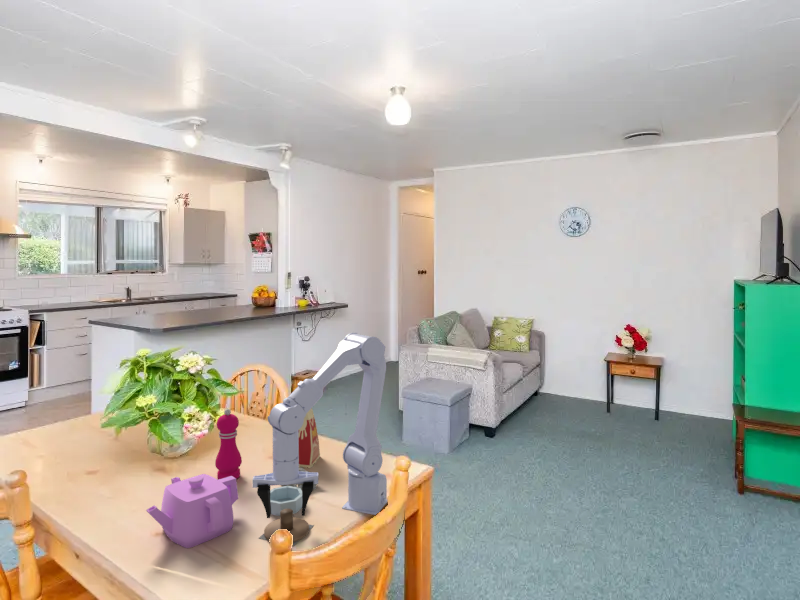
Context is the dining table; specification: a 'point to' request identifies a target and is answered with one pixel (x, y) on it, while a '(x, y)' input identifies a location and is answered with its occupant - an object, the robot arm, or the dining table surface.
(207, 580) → the dining table surface
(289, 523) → the lid
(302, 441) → the milk carton
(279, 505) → the bowl
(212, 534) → the teakettle
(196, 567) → the dining table surface
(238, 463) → the pepper mill
